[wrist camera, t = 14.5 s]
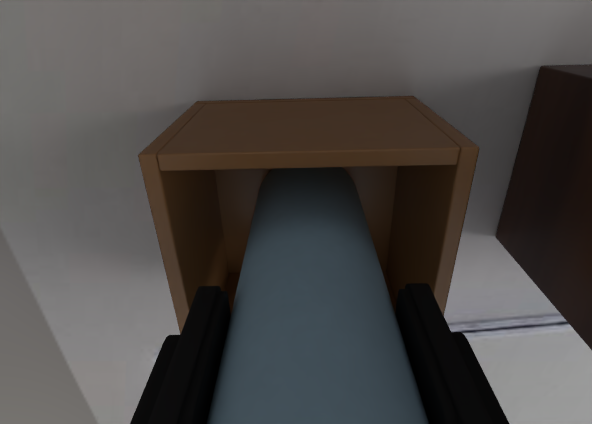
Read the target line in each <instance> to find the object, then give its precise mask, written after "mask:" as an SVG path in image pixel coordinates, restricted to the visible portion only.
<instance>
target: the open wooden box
mask: <svg viewBox="0 0 592 424" xmlns="http://www.w3.org/2000/svg"><path fill="white" fill-rule="evenodd" d="M478 152H479V147H478V146H477V145H476V144H474V143H473V142H472V141H471V140H469V139H468V138H467V137H465V136H464V135H463V134H462V133H460V132H459V131H458V130H457V129H455V128H454V127H453V126H451V125H450V124H449V123H448V122H446V121H445V120H444V119H442V118H441V117H440V116H439V115H437V114H436V113H435V112H433V111H432V110H431V109H430V108H428V107H427V106H426V105H424V104H423V103H422V102H421V101H419V100H418V99H417V98H415V97H414V96H389V97H349V98H310V99H270V100H230V101H197V102H196V103H195V104H193V105H192V106H191V107H190V108H189V109H188V110H187V111H186V112H185V113H184V114H183V115H181V116H180V117H179V118H178V119H177V120H176V121H175V122H174V123H173V124H172V125H170V126H169V127H168V128H167V129H166V130H165V131H164V132H163V133H162V134H161V135H159V136H158V137H157V138H156V139H155V140H154V141H153V142H152V143H151V144H150V145H148V146H147V147H146V148H145V149H144V150H143V151H142V152H141V153H140V154H139V155H138V157H139V161H140V166H141V170H142V174H143V178H144V182H145V187H146V191H147V195H148V199H149V203H150V208H151V212H152V216H153V220H154V224H155V229H156V233H157V237H158V241H159V245H160V250H161V254H162V258H163V262H164V267H165V271H166V275H167V279H168V283H169V288H170V292H171V296H172V300H173V304H174V309H175V313H176V317H177V321H178V325H179V330H180V334H181V332H182V329H183V327H184V324H185V321H186V318H187V316H188V313H189V310H190V308H191V305H192V302H193V299H194V297H195V294H196V291H197V289H198V287H199V286H220V288H221V291H227V293H228V298H229V305H230V312H231V313H232V308H233V304H234V299H235V295H236V290H237V286H238V282H239V277H240V273H241V268H242V264H243V259H244V255H245V251H246V246H247V242H248V237H249V233H250V228H251V224H252V219H253V215H254V211H255V206H256V202H257V197H258V193H259V189H260V186H261V184H262V182H263V180H264V178H265V177H266V176H267V174H268V173H269V172H270V171H271V170H272V169H276V168H323V167H342V168H343V169H344V170H345V171H346V172H347V173H348V174H349V175H350V177H351V178H352V180H353V182H354V183H355V186H356V189H357V192H358V195H359V198H360V202H361V205H362V208H363V211H364V214H365V218H366V221H367V224H368V227H369V231H370V234H371V237H372V240H373V244H374V247H375V250H376V253H377V256H378V260H379V263H380V266H381V269H382V273H383V276H384V279H385V282H386V286H387V289H388V292H389V295H390V298H391V302H392V305H393V308H394V311H395V312H396V304H397V297H398V291H399V289H405V286H406V284H410V283H427V284H429V286H430V288H431V290H432V292H433V294H434V296H435V299H436V301H437V303H438V305H439V307H440V309H441V312H442V314H443V316H444V311H445V307H446V302H447V297H448V293H449V288H450V283H451V279H452V274H453V269H454V265H455V260H456V255H457V251H458V246H459V241H460V237H461V232H462V227H463V223H464V218H465V213H466V209H467V204H468V199H469V195H470V190H471V185H472V181H473V176H474V171H475V167H476V162H477V157H478Z"/></svg>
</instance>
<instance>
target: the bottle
mask: <svg viewBox="0 0 592 424" xmlns="http://www.w3.org/2000/svg"><path fill="white" fill-rule="evenodd" d="M207 424H429V421H428V418H427V415H426V412H425V408H424V405H423V402H422V399H421V395H420V392H419V389H418V386H417V383H416V379H415V376H414V373H413V370H412V366H411V363H410V360H409V357H408V353H407V350H406V347H405V344H404V340H403V337H402V334H401V331H400V328H399V324H398V321H397V318H396V315H395V311H394V308H393V305H392V302H391V298H390V295H389V292H388V289H387V286H386V282H385V279H384V276H383V273H382V269H381V266H380V263H379V260H378V256H377V253H376V250H375V247H374V244H373V240H372V237H371V234H370V231H369V227H368V224H367V221H366V218H365V214H364V211H363V208H362V205H361V202H360V198H359V195H358V192H357V189H356V186H355V183H354V182H353V180H352V178H351V177H350V175H349V174H348V173H347V172H346V171H345V170H344V169H343V168H342V167H323V168H276V169H272V170H271V171H270V172H269V173H268V174H267V176H266V177H265V178H264V180H263V182H262V184H261V186H260V189H259V193H258V197H257V202H256V206H255V211H254V215H253V219H252V224H251V228H250V233H249V237H248V242H247V246H246V251H245V255H244V259H243V264H242V268H241V273H240V277H239V282H238V286H237V290H236V295H235V299H234V304H233V308H232V313H231V317H230V322H229V326H228V330H227V335H226V339H225V344H224V348H223V353H222V357H221V362H220V366H219V370H218V375H217V379H216V384H215V388H214V393H213V397H212V402H211V406H210V410H209V415H208V419H207Z"/></svg>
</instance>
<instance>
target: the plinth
mask: <svg viewBox="0 0 592 424" xmlns="http://www.w3.org/2000/svg"><path fill="white" fill-rule="evenodd" d="M496 238H497V239H498V241H499V242H500V243H501V244H502V245H503V246H504V248H505V249H506V250H507V251H508V252H509V253H510V255H511V256H512V257H513V258H514V259H515V261H516V262H517V263H518V264H519V265H520V266H521V268H522V269H523V270H524V271H525V272H526V273H527V275H528V276H529V277H530V278H531V279H532V280H533V282H534V283H535V284H536V285H537V286H538V288H539V289H540V290H541V291H542V292H543V293H544V295H545V296H546V297H547V298H548V299H549V300H550V302H551V303H552V304H553V305H554V306H555V308H556V309H557V310H558V311H559V312H560V313H561V315H562V316H563V317H564V318H565V319H566V320H567V322H568V323H569V324H570V325H571V326H572V327H573V329H574V330H575V331H576V332H577V333H578V335H579V336H580V337H581V338H582V339H583V340H584V342H585V343H586V344H587V345H588V346H589V347H590V349H591V350H592V65H555V66H541V68H540V72H539V75H538V79H537V83H536V87H535V90H534V94H533V98H532V102H531V105H530V109H529V113H528V117H527V120H526V124H525V128H524V132H523V135H522V139H521V143H520V147H519V150H518V154H517V158H516V162H515V165H514V169H513V173H512V177H511V181H510V184H509V188H508V192H507V196H506V199H505V203H504V207H503V211H502V214H501V218H500V222H499V226H498V229H497V233H496Z"/></svg>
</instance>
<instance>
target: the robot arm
mask: <svg viewBox="0 0 592 424" xmlns="http://www.w3.org/2000/svg"><path fill="white" fill-rule="evenodd" d="M395 315H396V318H397V321H398V324H399V328H400V331H401V334H402V337H403V340H404V344H405V347H406V350H407V353H408V357H409V360H410V363H411V366H412V370H413V373H414V376H415V379H416V383H417V386H418V389H419V392H420V395H421V399H422V402H423V405H424V408H425V412H426V415H427V418H428V421H429V424H509V422H508V420H507V418H506V416H505V414H504V412H503V410H502V408H501V406H500V404H499V402H498V400H497V398H496V396H495V394H494V392H493V390H492V388H491V386H490V384H489V382H488V380H487V378H486V376H485V374H484V372H483V370H482V368H481V366H480V364H479V362H478V360H477V358H476V356H475V354H474V352H473V350H472V348H471V346H470V344H469V342H468V340H467V339H466V337H465V335H464V334H462V333H461V332H451V331H450V329H449V327H448V325H447V322H446V320H445V318H444V316H443V314H442V312H441V309H440V307H439V305H438V303H437V301H436V299H435V296H434V294H433V292H432V290H431V288H430V286H429V284H427V283H410V284H406V286H405V289H399V291H398V297H397V304H396V312H395ZM230 317H231V312H230V305H229V298H228V293H227V291H221V288H220V286H199V287H198V289H197V291H196V294H195V297H194V299H193V302H192V305H191V308H190V310H189V313H188V316H187V318H186V321H185V324H184V327H183V329H182V332H181V335H169V336H167V337H166V339H165V341H164V343H163V345H162V348H161V350H160V352H159V355H158V357H157V360H156V362H155V365H154V367H153V369H152V372H151V374H150V377H149V379H148V382H147V384H146V386H145V389H144V391H143V394H142V396H141V399H140V401H139V404H138V406H137V408H136V411H135V413H134V416H133V418H132V421H131V423H130V424H207V419H208V415H209V410H210V406H211V402H212V397H213V393H214V388H215V384H216V379H217V375H218V370H219V366H220V362H221V357H222V353H223V348H224V344H225V339H226V335H227V330H228V326H229V322H230Z"/></svg>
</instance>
